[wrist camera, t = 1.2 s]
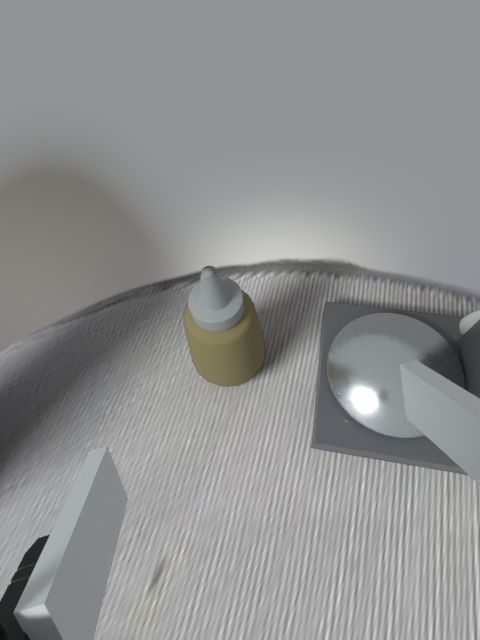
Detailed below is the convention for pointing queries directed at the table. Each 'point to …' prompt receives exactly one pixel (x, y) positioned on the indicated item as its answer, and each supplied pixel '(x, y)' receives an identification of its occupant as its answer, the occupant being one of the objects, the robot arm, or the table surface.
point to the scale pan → (385, 369)
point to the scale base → (351, 438)
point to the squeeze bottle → (223, 330)
